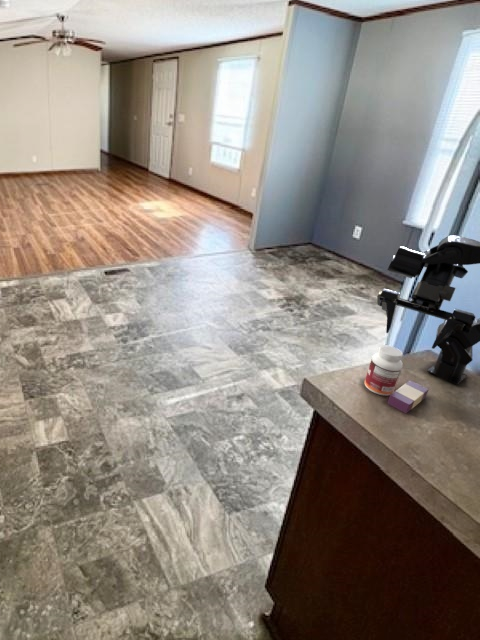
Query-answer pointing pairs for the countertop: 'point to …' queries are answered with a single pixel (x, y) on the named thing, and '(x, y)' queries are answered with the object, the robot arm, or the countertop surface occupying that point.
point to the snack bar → (407, 396)
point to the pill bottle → (384, 370)
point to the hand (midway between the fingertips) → (409, 340)
